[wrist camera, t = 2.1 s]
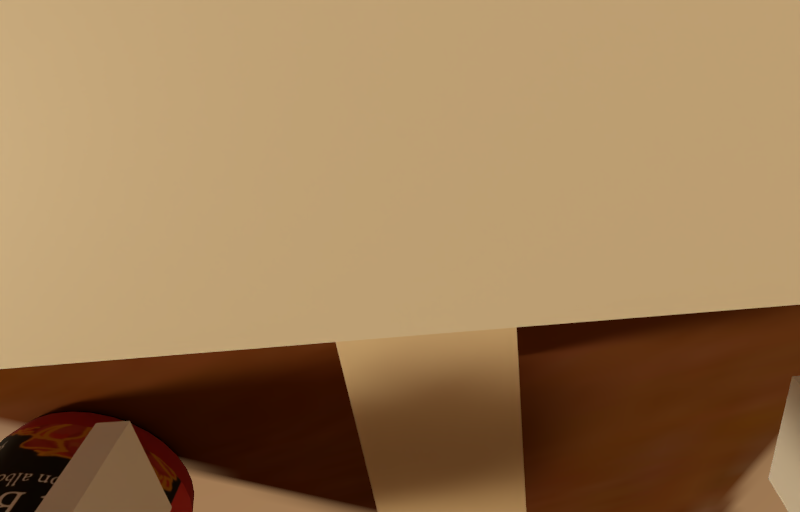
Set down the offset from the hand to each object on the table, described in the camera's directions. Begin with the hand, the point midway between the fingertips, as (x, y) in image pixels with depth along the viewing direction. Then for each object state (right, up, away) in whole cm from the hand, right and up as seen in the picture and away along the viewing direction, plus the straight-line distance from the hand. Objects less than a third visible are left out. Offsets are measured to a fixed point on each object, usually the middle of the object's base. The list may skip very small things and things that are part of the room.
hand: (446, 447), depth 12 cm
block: (0, +3, +5) cm, 6 cm away
